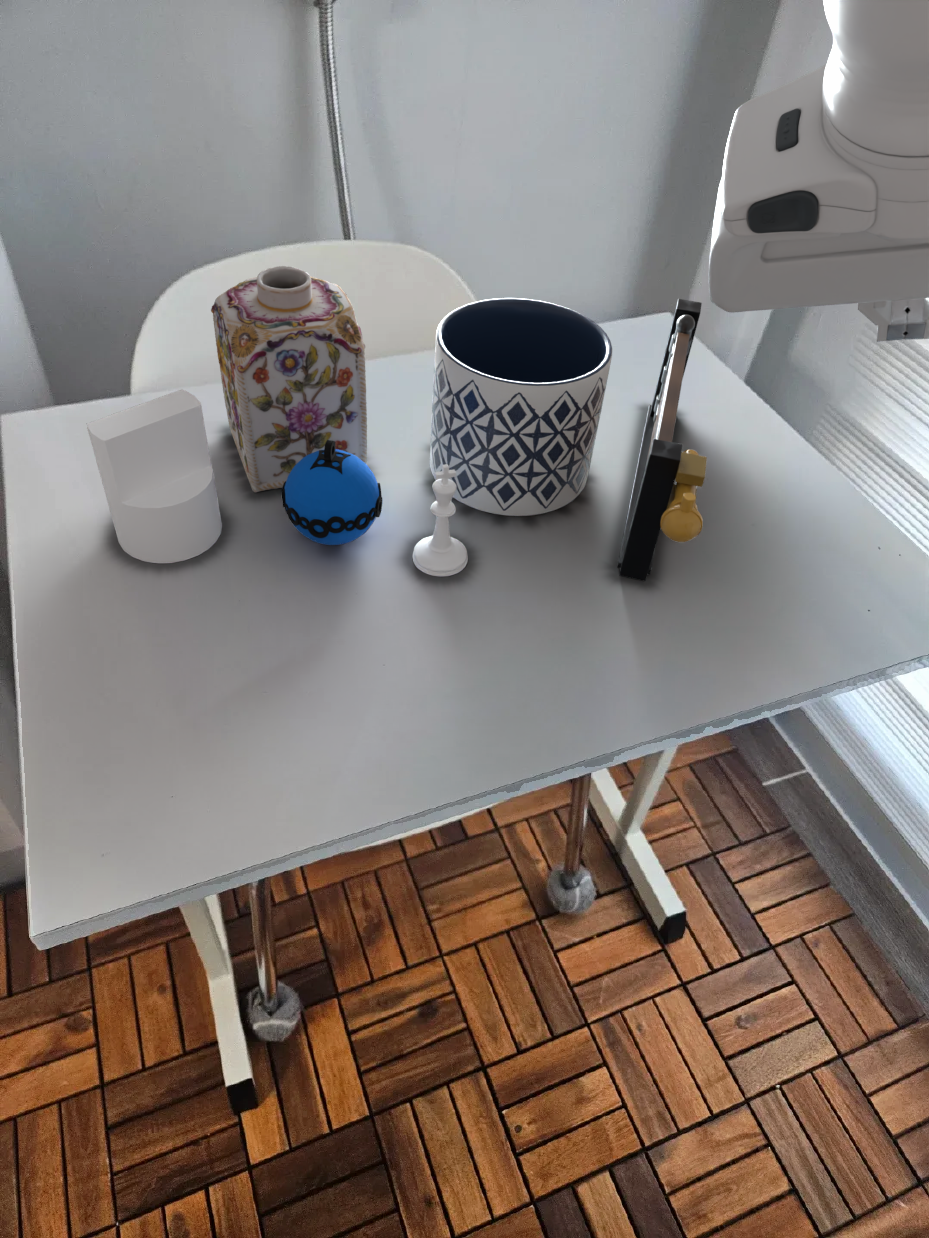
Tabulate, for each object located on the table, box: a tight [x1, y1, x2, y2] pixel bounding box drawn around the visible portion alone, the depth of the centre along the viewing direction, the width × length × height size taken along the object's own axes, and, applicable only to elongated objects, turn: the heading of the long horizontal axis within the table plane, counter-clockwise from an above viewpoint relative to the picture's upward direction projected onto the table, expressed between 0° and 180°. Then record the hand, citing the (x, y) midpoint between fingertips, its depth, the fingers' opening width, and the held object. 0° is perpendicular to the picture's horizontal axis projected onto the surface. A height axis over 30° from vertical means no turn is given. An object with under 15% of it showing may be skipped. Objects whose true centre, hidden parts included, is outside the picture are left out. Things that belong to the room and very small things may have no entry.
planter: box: [429, 297, 613, 517], centre depth 84 cm, size 16×16×14 cm
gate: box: [646, 315, 695, 464], centre depth 84 cm, size 23×2×12 cm, turn 165°
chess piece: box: [412, 464, 469, 577], centre depth 76 cm, size 5×5×10 cm
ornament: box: [280, 440, 383, 546], centre depth 77 cm, size 9×9×10 cm
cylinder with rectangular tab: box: [86, 388, 223, 564], centre depth 75 cm, size 9×9×12 cm
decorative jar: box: [210, 265, 368, 493], centre depth 83 cm, size 12×12×18 cm
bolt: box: [660, 448, 704, 543], centre depth 71 cm, size 11×3×4 cm, turn 166°
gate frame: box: [616, 298, 708, 582], centre depth 84 cm, size 29×5×13 cm, turn 166°
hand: (904, 330), depth 51 cm, fingers closed
